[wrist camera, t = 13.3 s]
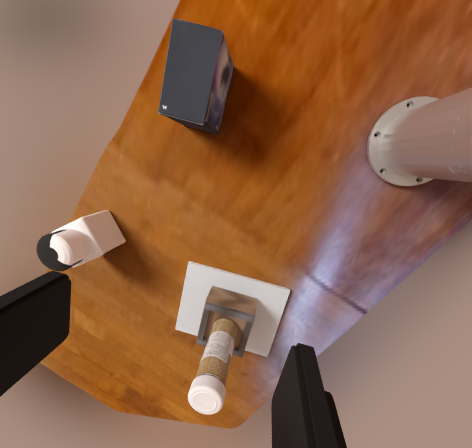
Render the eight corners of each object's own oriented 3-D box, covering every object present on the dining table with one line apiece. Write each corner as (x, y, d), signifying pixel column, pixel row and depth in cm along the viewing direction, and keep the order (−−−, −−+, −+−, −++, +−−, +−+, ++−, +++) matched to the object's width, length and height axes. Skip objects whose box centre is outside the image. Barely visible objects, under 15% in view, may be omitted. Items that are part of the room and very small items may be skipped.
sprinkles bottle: (231, 342, 43) (213, 422, 30) (209, 331, 43) (181, 405, 30) (242, 324, 41) (228, 399, 28) (219, 312, 41) (194, 382, 28)
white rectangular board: (290, 288, 44) (290, 290, 44) (267, 354, 49) (267, 357, 48) (189, 260, 46) (188, 262, 45) (176, 327, 50) (175, 329, 50)
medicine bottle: (99, 253, 48) (46, 282, 37) (81, 222, 47) (20, 242, 35) (127, 241, 47) (81, 267, 35) (109, 208, 45) (55, 224, 34)
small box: (220, 136, 39) (204, 127, 29) (183, 126, 40) (155, 114, 30) (236, 65, 36) (224, 29, 26) (196, 55, 37) (169, 15, 27)
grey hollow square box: (257, 298, 45) (255, 317, 40) (245, 335, 48) (242, 358, 42) (212, 285, 46) (204, 302, 40) (203, 323, 48) (194, 344, 43)
